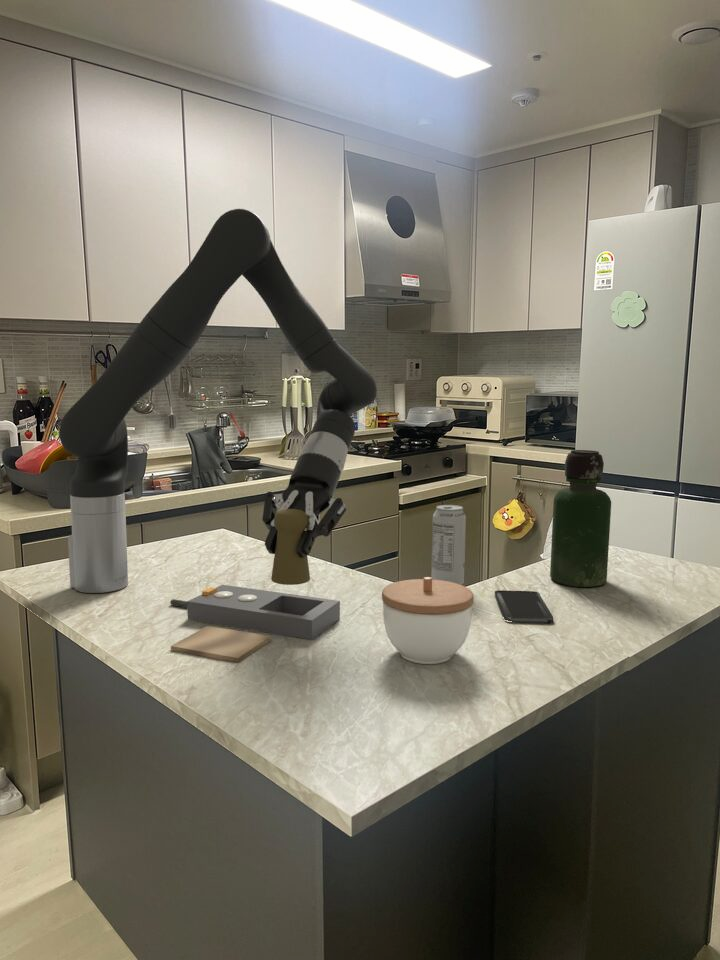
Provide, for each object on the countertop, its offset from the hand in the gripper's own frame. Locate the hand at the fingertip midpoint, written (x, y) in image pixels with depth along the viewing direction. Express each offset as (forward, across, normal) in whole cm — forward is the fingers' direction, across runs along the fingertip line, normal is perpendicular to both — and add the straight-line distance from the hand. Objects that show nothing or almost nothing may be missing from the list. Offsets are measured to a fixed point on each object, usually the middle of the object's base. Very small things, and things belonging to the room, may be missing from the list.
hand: (285, 552), depth 108 cm
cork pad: (+16, -5, +1) cm, 16 cm away
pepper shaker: (+2, 0, +5) cm, 5 cm away
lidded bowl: (+10, +23, +7) cm, 26 cm away
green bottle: (-24, +39, +40) cm, 61 cm away
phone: (-9, +32, +26) cm, 42 cm away
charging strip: (+7, -8, +10) cm, 15 cm away
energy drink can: (-14, +17, +30) cm, 38 cm away
